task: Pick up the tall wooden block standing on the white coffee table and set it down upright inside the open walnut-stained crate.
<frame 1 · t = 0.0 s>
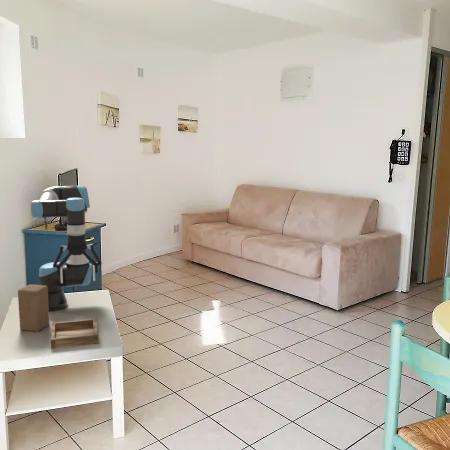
hand: (78, 281, 209), 28 cm above the table, fingers open, 13 cm apart
wooden block: (35, 327, 228), on the table
crate: (74, 336, 218), on the table
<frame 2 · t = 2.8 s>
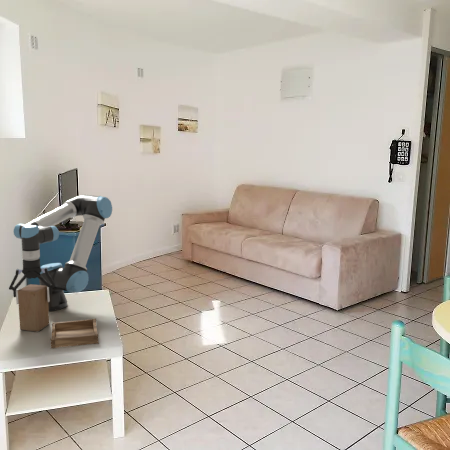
hand: (33, 302, 225), 13 cm above the table, fingers open, 13 cm apart
nothing on the table moved.
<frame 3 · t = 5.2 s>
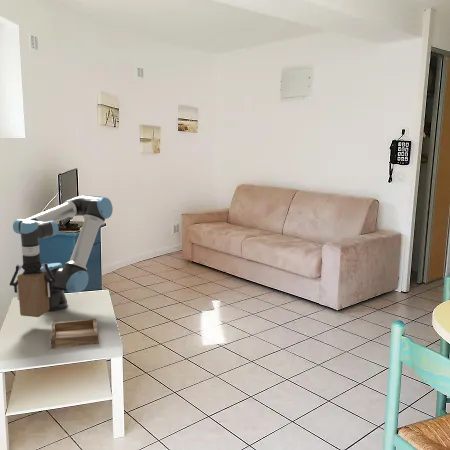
hand: (34, 297, 225), 15 cm above the table, fingers closed on wooden block, 13 cm apart
wooden block: (35, 313, 227), point 7 cm above the table, touching gripper
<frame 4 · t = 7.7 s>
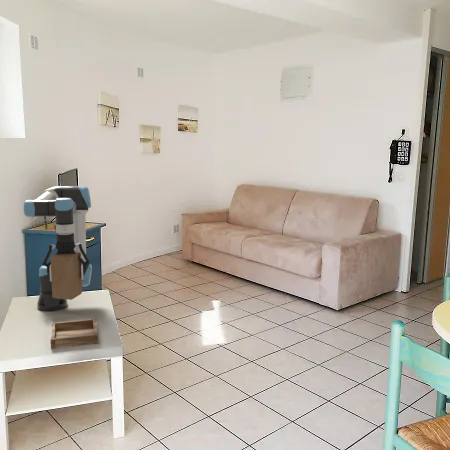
hand: (66, 279, 214), 27 cm above the table, fingers closed on wooden block, 13 cm apart
wooden block: (67, 296, 216), point 19 cm above the table, touching gripper
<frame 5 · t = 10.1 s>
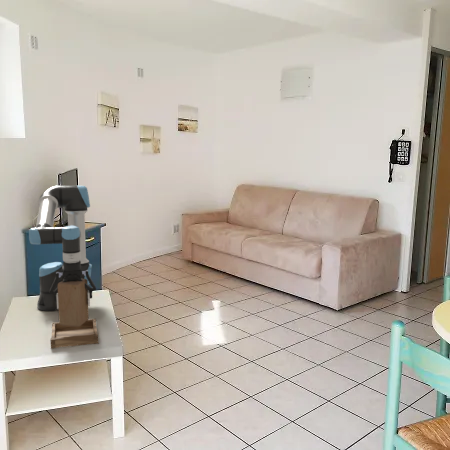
hand: (73, 306, 216), 15 cm above the table, fingers closed on wooden block, 13 cm apart
wooden block: (74, 323, 217), point 7 cm above the table, touching gripper
when the fingers open (10 cm above the table, at t = 11.9 s): wooden block stays where it is, resting on crate.
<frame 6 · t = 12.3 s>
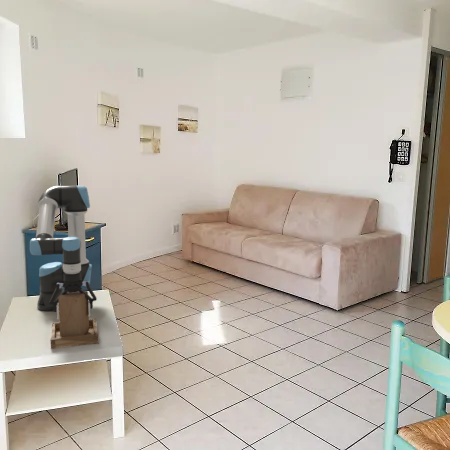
hand: (74, 316, 216), 10 cm above the table, fingers open, 13 cm apart
wooden block: (74, 335, 218), point 1 cm above the table, touching crate
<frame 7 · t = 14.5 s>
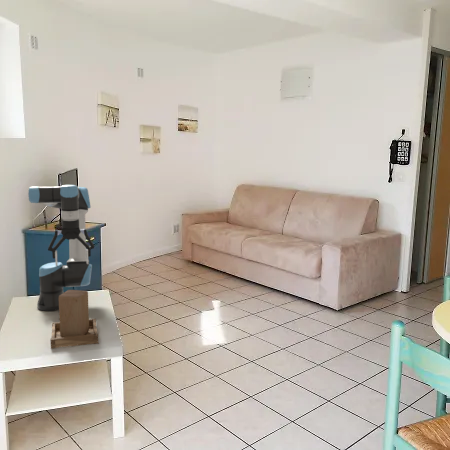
hand: (72, 264, 220), 32 cm above the table, fingers open, 13 cm apart
nothing on the table moved.
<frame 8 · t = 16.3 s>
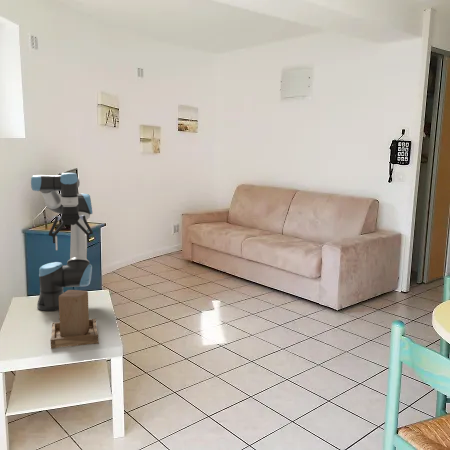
hand: (71, 249, 230), 37 cm above the table, fingers open, 13 cm apart
nothing on the table moved.
at the end: wooden block 0.2 cm from the crate (horizontally); wooden block tilted 0°; the gripper is holding nothing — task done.
